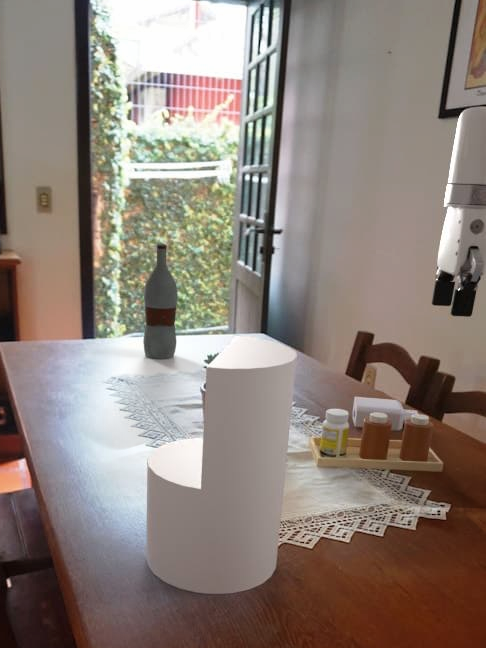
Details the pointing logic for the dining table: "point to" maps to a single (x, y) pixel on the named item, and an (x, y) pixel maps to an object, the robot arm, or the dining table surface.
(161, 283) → the grey green soda bottle
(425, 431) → the amber bottle
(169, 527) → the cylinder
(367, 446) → the amber bottle
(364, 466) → the tray
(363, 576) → the dining table surface
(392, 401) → the charger
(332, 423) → the supplement bottle
